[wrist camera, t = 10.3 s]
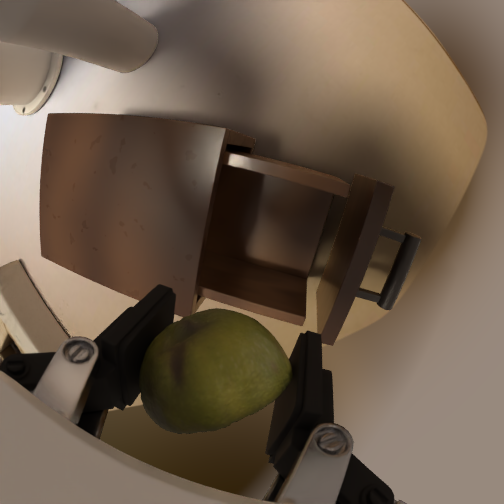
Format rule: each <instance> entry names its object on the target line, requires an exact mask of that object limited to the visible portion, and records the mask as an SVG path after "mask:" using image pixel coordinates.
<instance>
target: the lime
mask: <svg viewBox="0 0 504 504" xmlns="http://www.w3.org/2000/svg"><path fill="white" fill-rule="evenodd" d="M292 377H293V372H292V366H291V363H290V361H289V359H288V357H287V355H286V354H285V352H284V350H283V349H282V347H281V346H280V344H279V343H278V341H277V340H276V339H275V337H274V336H273V335H272V334H271V333H270V332H269V331H268V330H267V329H266V328H265V327H264V326H262V325H261V324H260V323H259V322H258V321H257V320H255V319H254V318H251V317H249V316H247V315H244V314H241V313H238V312H235V311H231V310H226V309H218V308H216V309H208V310H205V311H201V312H197V313H195V314H192V315H189V316H185V317H184V318H182V319H181V320H180V321H176V322H174V323H172V324H170V325H169V326H167V327H166V328H165V329H164V331H162V332H161V333H160V334H159V335H158V336H156V337H155V338H154V340H153V341H152V343H151V344H150V345H149V346H148V348H147V350H146V352H145V355H144V358H143V361H142V364H141V368H140V377H139V387H140V392H141V400H142V402H143V406H144V408H145V410H146V412H147V414H148V415H149V416H150V418H151V419H152V420H153V421H154V422H155V423H156V424H158V425H159V426H160V427H161V428H163V429H165V430H167V431H170V432H174V433H178V434H182V433H186V434H190V433H196V432H207V431H216V430H218V429H221V428H225V427H227V426H229V425H230V424H231V423H233V422H237V421H239V420H241V419H243V418H244V417H246V416H248V415H252V414H254V413H256V412H258V411H259V410H261V409H263V408H264V407H266V406H267V405H268V404H270V403H272V402H273V401H274V400H276V399H277V398H278V397H279V396H280V395H281V394H282V392H283V391H285V390H286V388H287V386H288V385H289V383H290V382H291V380H292Z"/></svg>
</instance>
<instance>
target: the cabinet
mask: <svg viewBox="0 0 504 504" xmlns="http://www.w3.org/2000/svg"><path fill="white" fill-rule="evenodd" d="M255 141H256V139H255V138H252V137H249V136H247V135H244V134H241V133H239V132H236V131H233V130H230V129H227V128H224V127H218V126H212V125H206V124H200V123H193V122H186V121H179V120H171V119H163V118H153V117H143V116H131V115H116V114H93V113H50V114H48V117H47V123H46V129H45V136H44V144H43V153H42V164H41V178H40V242H41V256H42V257H44V258H46V259H48V260H50V261H52V262H54V263H56V264H58V265H60V266H62V267H64V268H66V269H68V270H70V271H73V272H75V273H77V274H79V275H81V276H83V277H85V278H88V279H90V280H92V281H94V282H97V283H99V284H101V285H103V286H106V287H108V288H110V289H113V290H115V291H117V292H120V293H122V294H124V295H127V296H129V297H132V298H134V299H137V300H139V301H141V300H142V299H143V298H144V297H145V296H146V295H147V294H148V293H149V292H150V291H151V290H152V289H153V288H155V287H156V286H157V285H158V284H161V285H164V286H167V287H170V288H172V289H173V293H176V302H175V311H174V314H176V315H179V316H181V317H185V316H189V315H192V314H195V312H196V311H197V309H198V308H199V306H200V305H201V304H202V302H203V301H204V299H205V298H206V297H203V296H200V295H198V289H199V283H200V277H201V271H202V265H203V259H204V254H205V248H206V243H207V237H208V232H209V227H210V222H211V216H212V211H213V206H214V201H215V196H216V192H217V187H218V182H219V177H220V173H221V168H222V164H223V159H224V155H225V150H226V149H231V150H236V151H240V152H245V153H249V154H253V150H254V146H255Z"/></svg>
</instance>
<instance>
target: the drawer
mask: <svg viewBox="0 0 504 504" xmlns="http://www.w3.org/2000/svg"><path fill="white" fill-rule="evenodd" d="M350 186H351V189H350ZM394 188H395V187H394V186H392V185H389V184H386V183H384V182H381V181H378V180H375V179H372V178H369V177H366V176H363V175H359V174H356V173H355V175H354V178H353V182H352V185H349V184H348V183H346V182H344V181H343V180H341V179H339V178H337V177H335V176H332V175H328V174H325V173H322V172H318V171H315V170H311V169H308V168H304V167H301V166H297V165H293V164H290V163H286V162H282V161H278V160H274V159H270V158H266V157H262V156H258V155H254V154H249V153H245V152H240V151H236V150H231V149H226V150H225V155H224V159H223V164H222V168H221V173H220V177H219V182H218V187H217V192H216V196H215V201H214V206H213V211H212V216H211V222H210V227H209V232H208V237H207V243H206V248H205V254H204V259H203V265H202V271H201V277H200V283H199V289H198V295H200V296H203V297H206V298H209V299H212V300H215V301H218V302H221V303H224V304H228V305H231V306H234V307H237V308H240V309H244V310H247V311H250V312H254V313H257V314H260V315H264V316H267V317H271V318H274V319H278V320H281V321H285V322H289V323H292V324H296V325H300V326H303V324H304V321H305V319H306V294H307V277H308V275H309V272H310V269H311V266H312V263H313V260H314V257H315V254H316V250H317V247H318V244H319V241H320V238H321V235H322V232H323V228H324V225H325V222H326V219H327V215H328V212H329V209H330V205H331V202H332V199H333V195H334V194H336V195H339V196H342V197H346V198H347V197H348V199H347V203H346V206H345V209H344V212H343V216H342V219H341V222H340V225H339V228H338V231H337V234H336V238H335V241H334V244H333V247H332V250H331V252H330V255H329V258H328V261H327V264H326V267H325V270H324V273H323V275H322V278H321V281H320V284H319V286H318V289H317V292H316V299H317V330H318V334H321V341H322V343H323V344H327V345H332V346H333V344H334V342H335V340H336V338H337V336H338V334H339V332H340V330H341V328H342V326H343V323H344V321H345V319H346V317H347V315H348V312H349V310H350V308H351V306H352V303H353V301H354V299H355V297H359V298H362V299H366V300H370V301H373V302H377V304H378V306H380V307H381V308H383V309H385V310H391V309H392V307H393V305H394V303H395V301H396V299H397V297H398V295H399V293H400V290H401V288H402V286H403V284H404V281H405V279H406V277H407V274H408V272H409V270H410V267H411V265H412V262H413V260H414V257H415V255H416V252H417V250H418V247H419V245H420V242H421V238H420V237H419V236H417V235H415V234H412V233H410V232H405V233H404V234H402V233H400V232H397V231H394V230H391V229H388V228H385V227H382V226H383V223H384V220H385V217H386V214H387V211H388V208H389V205H390V201H391V198H392V195H393V191H394ZM349 190H350V192H349ZM348 193H349V196H348ZM379 235H380V236H383V237H386V238H389V239H392V240H395V241H398V242H401V244H400V247H399V250H398V252H397V255H396V257H395V260H394V262H393V265H392V267H391V270H390V272H389V275H388V277H387V279H386V282H385V284H384V286H383V289H382V291H381V293H380V294H379V293H376V292H373V291H369V290H366V289H362V288H359V287H360V285H361V282H362V280H363V277H364V275H365V272H366V270H367V267H368V265H369V262H370V259H371V257H372V254H373V251H374V249H375V246H376V243H377V240H378V238H379Z"/></svg>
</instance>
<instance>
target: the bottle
mask: <svg viewBox="0 0 504 504" xmlns="http://www.w3.org/2000/svg"><path fill="white" fill-rule="evenodd" d="M0 41H1V42H5V43H11V44H17V45H22V46H27V47H32V48H37V49H41V50H45V51H50V52H54V53H58V54H62V55H65V56H69V57H73V58H76V59H80V60H83V61H86V62H89V63H93V64H96V65H99V66H102V67H105V68H109V69H112V70H115V71H118V72H121V73H126V72H131V71H133V70H136V69H137V68H139V67H141V66H142V65H143V64H144V63H145V62H147V61H148V59H149V58H150V57H151V55H152V54H153V53H154V51H155V48H156V46H157V43H158V32H157V29H156V28H155V26H154V25H152V24H151V23H149V22H148V21H146V20H145V19H143V18H142V17H140V16H139V15H137V14H136V13H134V12H133V11H131V10H130V9H128V8H126V7H125V6H123V5H121V4H120V3H118V2H116V1H115V0H0Z"/></svg>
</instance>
